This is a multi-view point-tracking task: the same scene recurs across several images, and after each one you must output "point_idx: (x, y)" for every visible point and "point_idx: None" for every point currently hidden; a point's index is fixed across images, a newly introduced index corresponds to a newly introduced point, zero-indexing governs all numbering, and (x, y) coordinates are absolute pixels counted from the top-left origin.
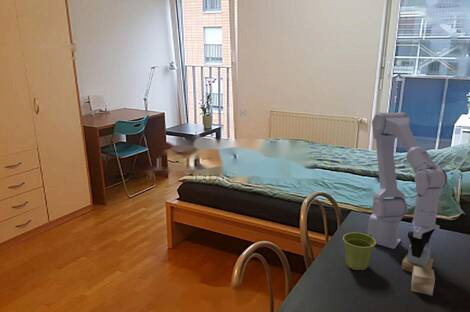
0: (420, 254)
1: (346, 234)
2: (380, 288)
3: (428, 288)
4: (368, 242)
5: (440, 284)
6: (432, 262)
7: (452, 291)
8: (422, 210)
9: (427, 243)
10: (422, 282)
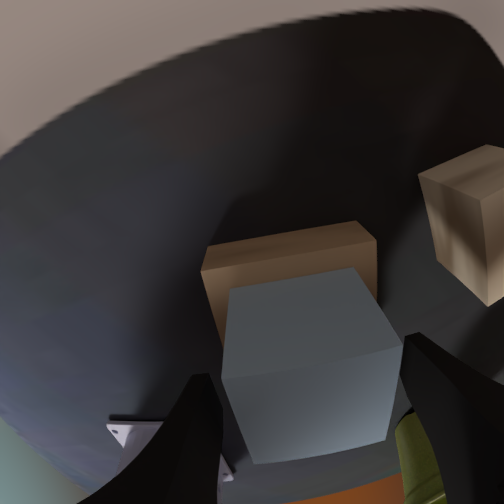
0: (438, 349)
1: None
2: None
3: None
4: (417, 488)
5: (373, 136)
6: (221, 260)
7: (392, 67)
8: None
9: (200, 399)
10: None
